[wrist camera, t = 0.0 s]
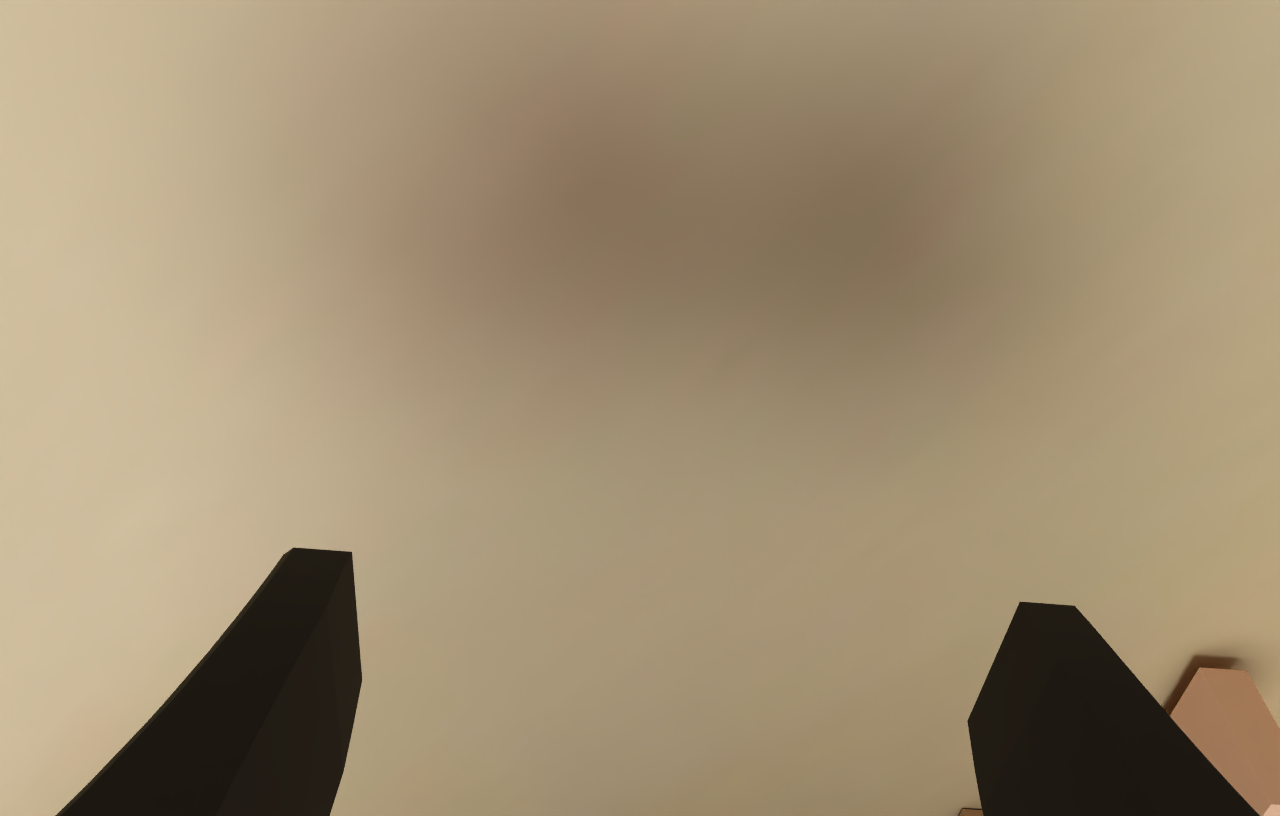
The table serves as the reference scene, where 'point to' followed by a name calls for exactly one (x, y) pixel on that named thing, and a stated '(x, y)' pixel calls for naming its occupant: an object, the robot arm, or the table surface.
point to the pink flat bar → (1234, 734)
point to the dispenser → (971, 812)
